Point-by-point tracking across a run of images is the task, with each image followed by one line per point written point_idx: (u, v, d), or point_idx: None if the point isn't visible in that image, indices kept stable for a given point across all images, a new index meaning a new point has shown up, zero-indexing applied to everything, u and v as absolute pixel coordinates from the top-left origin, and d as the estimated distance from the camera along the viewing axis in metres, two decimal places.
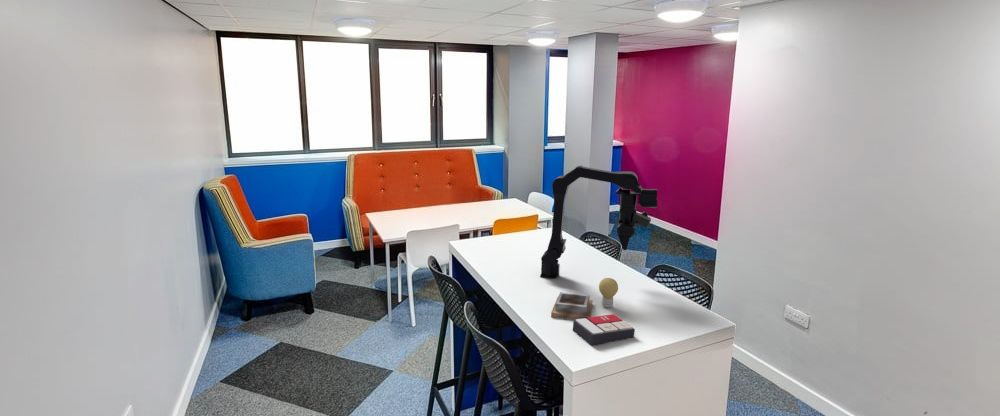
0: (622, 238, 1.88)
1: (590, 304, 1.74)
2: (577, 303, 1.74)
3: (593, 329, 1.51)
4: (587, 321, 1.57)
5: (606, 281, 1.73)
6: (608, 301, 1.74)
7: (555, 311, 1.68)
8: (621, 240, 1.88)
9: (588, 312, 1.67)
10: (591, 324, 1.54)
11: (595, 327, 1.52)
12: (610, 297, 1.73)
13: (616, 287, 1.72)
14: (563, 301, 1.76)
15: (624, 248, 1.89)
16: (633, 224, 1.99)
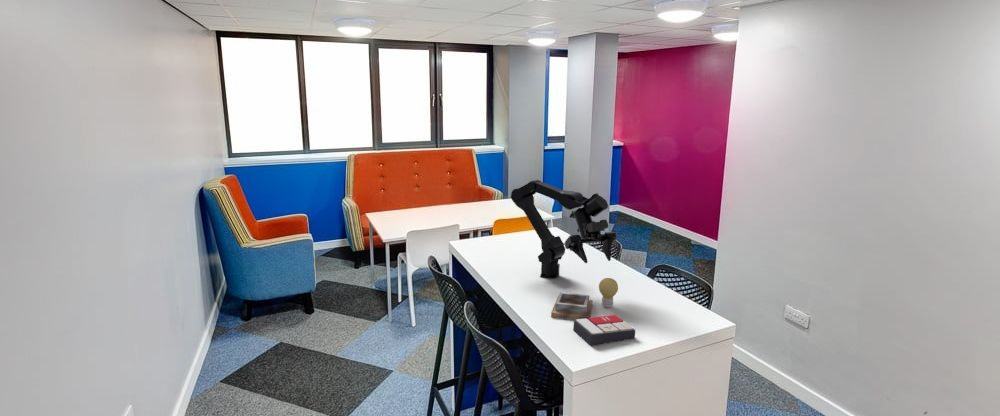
0: (578, 252, 1.82)
1: (590, 304, 1.74)
2: (577, 303, 1.74)
3: (593, 329, 1.51)
4: (588, 321, 1.56)
5: (606, 281, 1.73)
6: (608, 301, 1.74)
7: (555, 311, 1.68)
8: (578, 254, 1.82)
9: (588, 312, 1.67)
10: (591, 324, 1.54)
11: (595, 327, 1.52)
12: (610, 297, 1.73)
13: (616, 287, 1.72)
14: (563, 301, 1.76)
15: (584, 261, 1.80)
16: (613, 239, 1.85)
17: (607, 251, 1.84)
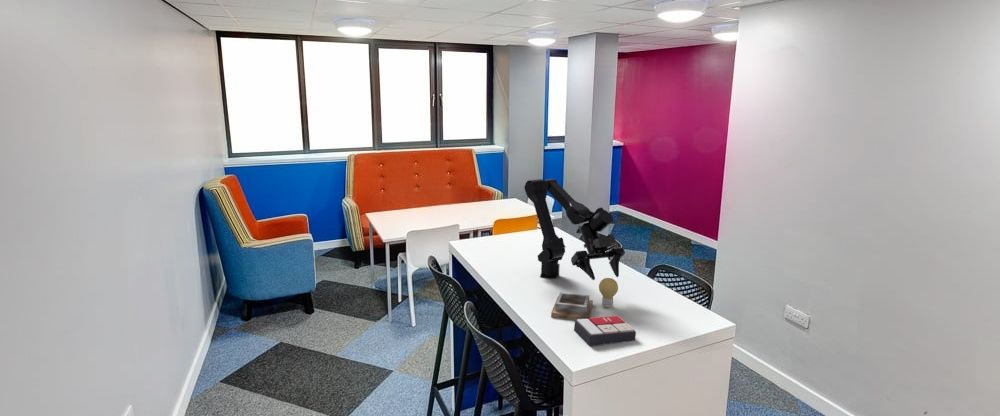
0: (584, 268, 1.77)
1: (590, 304, 1.74)
2: (577, 303, 1.74)
3: (592, 330, 1.50)
4: (588, 321, 1.56)
5: (606, 281, 1.73)
6: (608, 301, 1.74)
7: (555, 311, 1.68)
8: (585, 271, 1.77)
9: (588, 312, 1.67)
10: (591, 325, 1.54)
11: (595, 328, 1.52)
12: (610, 297, 1.73)
13: (616, 287, 1.72)
14: (563, 301, 1.76)
15: (592, 277, 1.75)
16: None
17: (615, 267, 1.79)
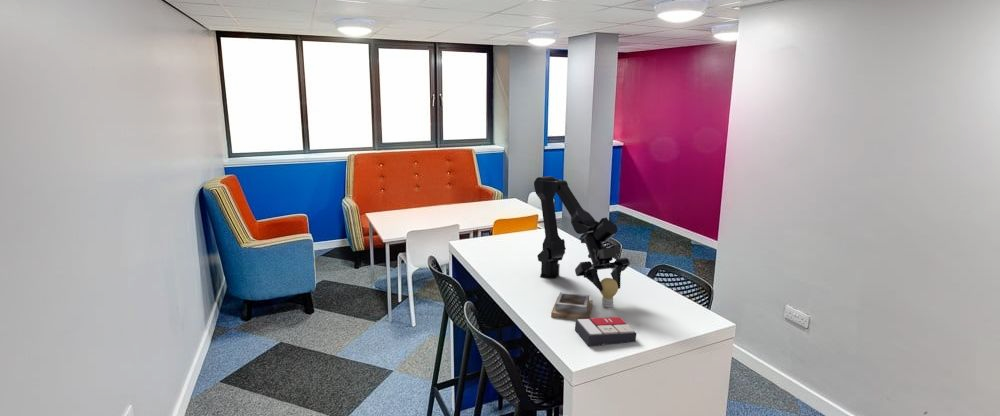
0: (592, 279, 1.75)
1: (590, 304, 1.74)
2: (577, 303, 1.74)
3: (592, 330, 1.50)
4: (589, 321, 1.56)
5: (606, 281, 1.73)
6: (608, 301, 1.74)
7: (555, 311, 1.68)
8: (592, 282, 1.75)
9: (588, 312, 1.67)
10: (592, 325, 1.54)
11: (595, 328, 1.52)
12: (610, 297, 1.73)
13: (616, 287, 1.72)
14: (563, 301, 1.76)
15: (599, 288, 1.73)
16: None
17: (616, 278, 1.76)
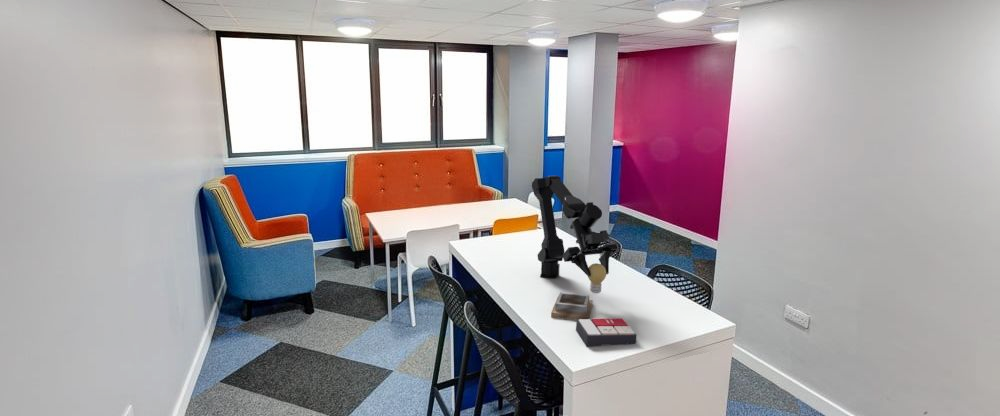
0: (580, 265, 1.72)
1: (590, 304, 1.74)
2: (577, 303, 1.74)
3: (591, 330, 1.50)
4: (590, 322, 1.56)
5: (594, 267, 1.70)
6: (596, 287, 1.71)
7: (555, 311, 1.68)
8: (580, 267, 1.72)
9: (588, 312, 1.67)
10: (592, 325, 1.53)
11: (594, 329, 1.51)
12: (598, 283, 1.71)
13: (604, 273, 1.70)
14: (563, 301, 1.76)
15: (587, 274, 1.70)
16: (611, 251, 1.74)
17: (605, 264, 1.73)
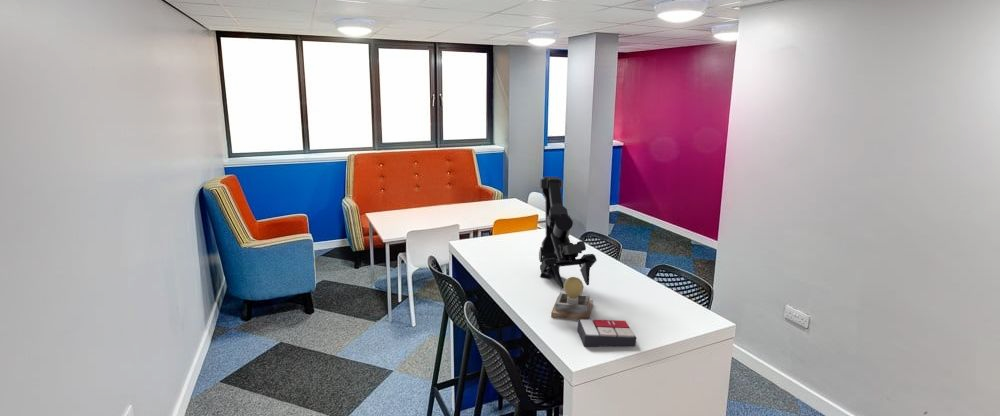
0: (553, 276, 1.70)
1: (590, 304, 1.74)
2: None
3: (590, 330, 1.50)
4: (591, 322, 1.56)
5: (571, 280, 1.69)
6: (573, 301, 1.70)
7: (555, 311, 1.68)
8: (554, 279, 1.70)
9: (588, 312, 1.67)
10: (592, 326, 1.53)
11: (593, 329, 1.51)
12: (575, 297, 1.69)
13: (581, 286, 1.68)
14: (563, 301, 1.76)
15: (560, 286, 1.68)
16: None
17: (585, 275, 1.72)
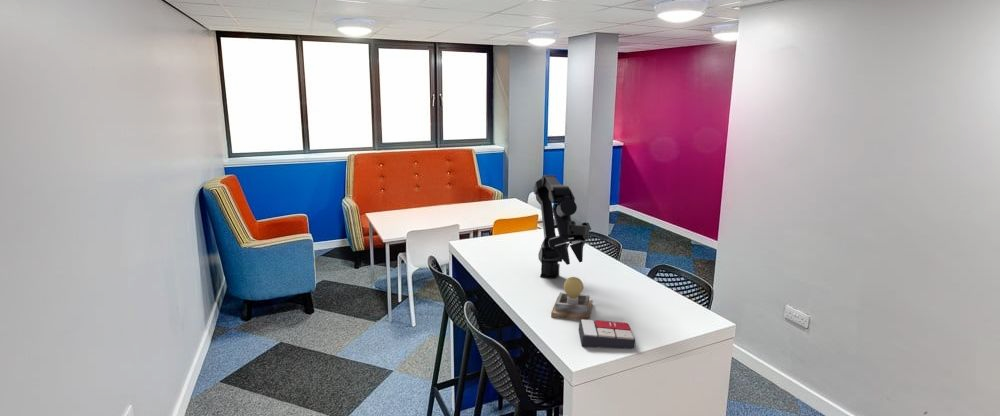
0: (560, 252, 1.78)
1: (590, 304, 1.74)
2: None
3: (588, 331, 1.50)
4: (592, 323, 1.55)
5: (571, 280, 1.69)
6: (573, 301, 1.70)
7: (555, 311, 1.68)
8: (560, 254, 1.78)
9: (588, 312, 1.67)
10: (592, 326, 1.53)
11: (593, 330, 1.51)
12: (575, 297, 1.69)
13: (581, 286, 1.68)
14: (563, 301, 1.76)
15: (566, 262, 1.78)
16: (585, 241, 1.87)
17: (579, 252, 1.85)
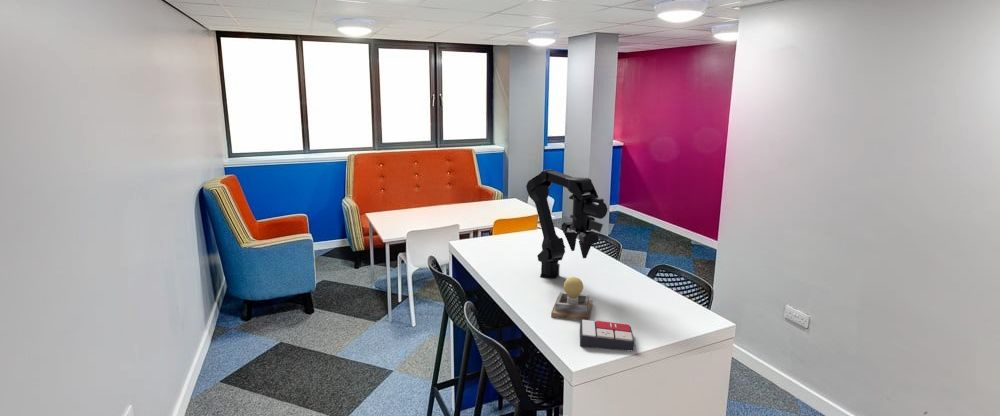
0: (584, 246, 1.82)
1: (590, 304, 1.74)
2: None
3: (587, 331, 1.50)
4: (592, 323, 1.55)
5: (570, 280, 1.69)
6: (573, 301, 1.70)
7: (555, 311, 1.68)
8: (583, 249, 1.83)
9: (588, 312, 1.67)
10: (592, 327, 1.52)
11: (592, 330, 1.50)
12: (575, 297, 1.69)
13: (581, 286, 1.68)
14: (563, 301, 1.76)
15: (584, 256, 1.85)
16: None
17: (574, 242, 1.93)
